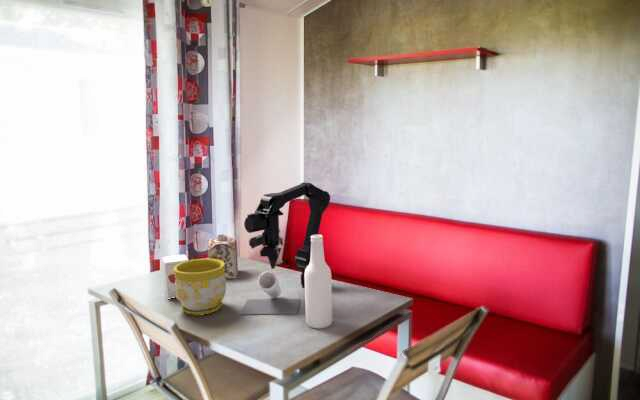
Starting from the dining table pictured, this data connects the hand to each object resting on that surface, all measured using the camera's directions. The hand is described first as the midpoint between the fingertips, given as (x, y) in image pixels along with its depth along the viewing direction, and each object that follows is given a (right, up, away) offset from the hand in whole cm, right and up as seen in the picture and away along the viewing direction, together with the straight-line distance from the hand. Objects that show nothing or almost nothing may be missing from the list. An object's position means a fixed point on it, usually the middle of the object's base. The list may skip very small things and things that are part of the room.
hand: (273, 268), depth 186 cm
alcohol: (+18, -15, -23) cm, 33 cm away
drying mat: (0, -13, -7) cm, 15 cm away
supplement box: (-38, -12, +8) cm, 41 cm away
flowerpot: (-25, -14, -7) cm, 29 cm away
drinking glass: (0, -9, +2) cm, 10 cm away
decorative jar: (-25, -8, +31) cm, 40 cm away
